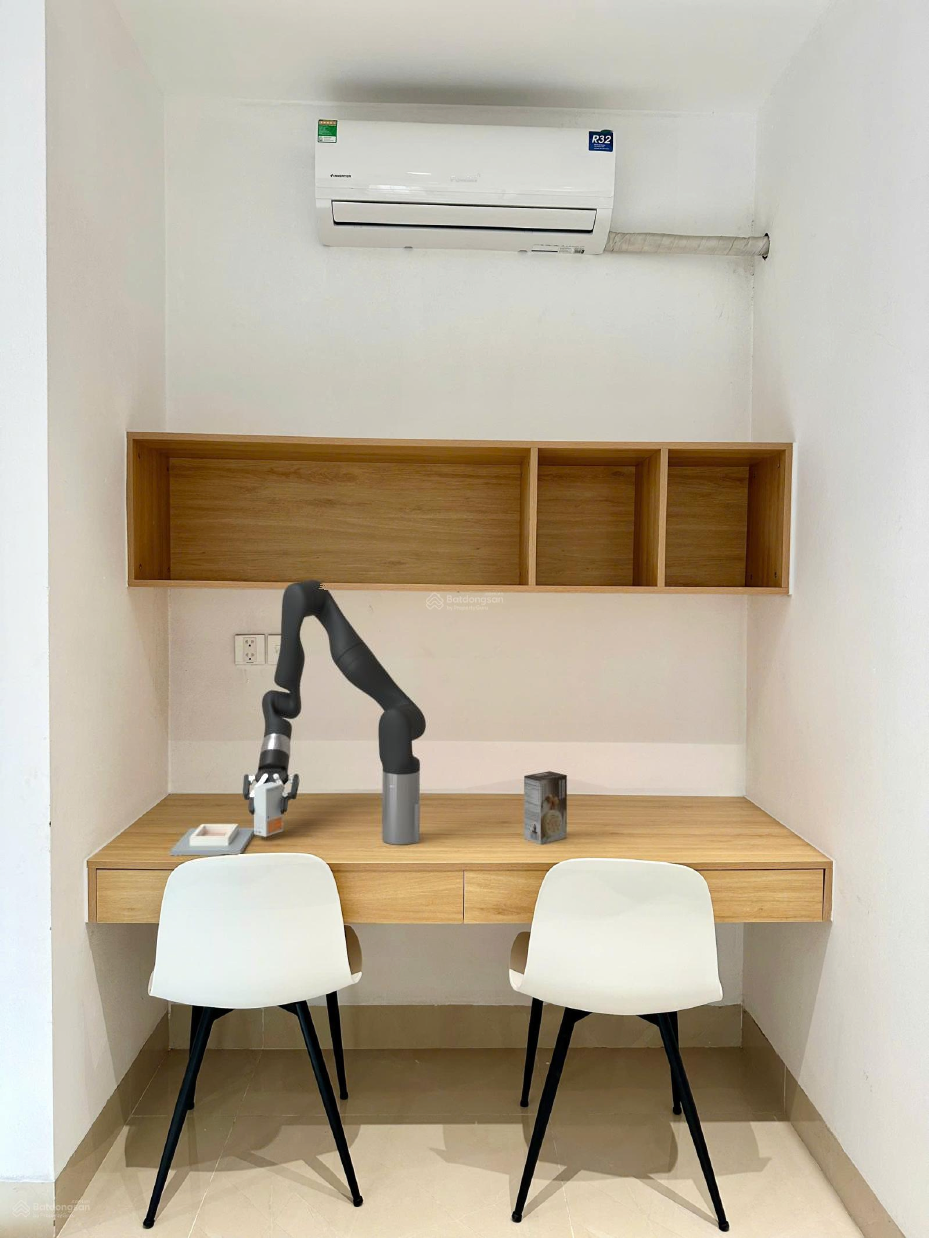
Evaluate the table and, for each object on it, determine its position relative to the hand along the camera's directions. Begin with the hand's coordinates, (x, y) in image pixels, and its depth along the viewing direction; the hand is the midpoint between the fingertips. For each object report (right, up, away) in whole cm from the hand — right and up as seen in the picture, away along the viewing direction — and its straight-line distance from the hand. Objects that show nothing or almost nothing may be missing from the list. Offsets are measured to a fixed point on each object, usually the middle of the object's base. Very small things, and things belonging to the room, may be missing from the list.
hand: (267, 812), depth 209 cm
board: (-12, -7, -3) cm, 14 cm away
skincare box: (0, -6, +2) cm, 6 cm away
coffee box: (+69, -7, +4) cm, 69 cm away
